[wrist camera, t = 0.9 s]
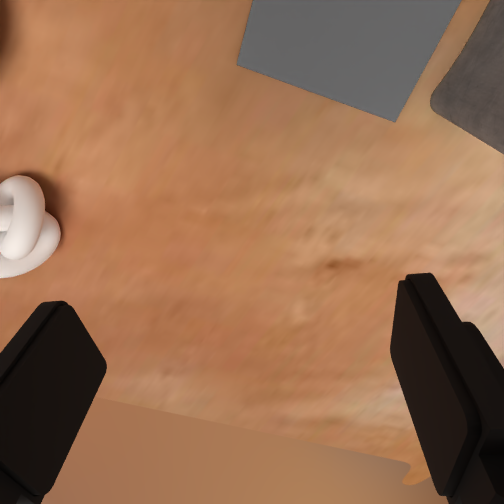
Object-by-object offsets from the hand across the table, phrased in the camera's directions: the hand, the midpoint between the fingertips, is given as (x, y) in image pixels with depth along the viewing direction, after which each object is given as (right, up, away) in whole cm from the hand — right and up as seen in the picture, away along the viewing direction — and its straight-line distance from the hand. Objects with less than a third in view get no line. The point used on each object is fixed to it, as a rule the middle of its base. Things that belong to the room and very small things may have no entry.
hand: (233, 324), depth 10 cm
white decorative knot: (-29, +8, +34) cm, 46 cm away
